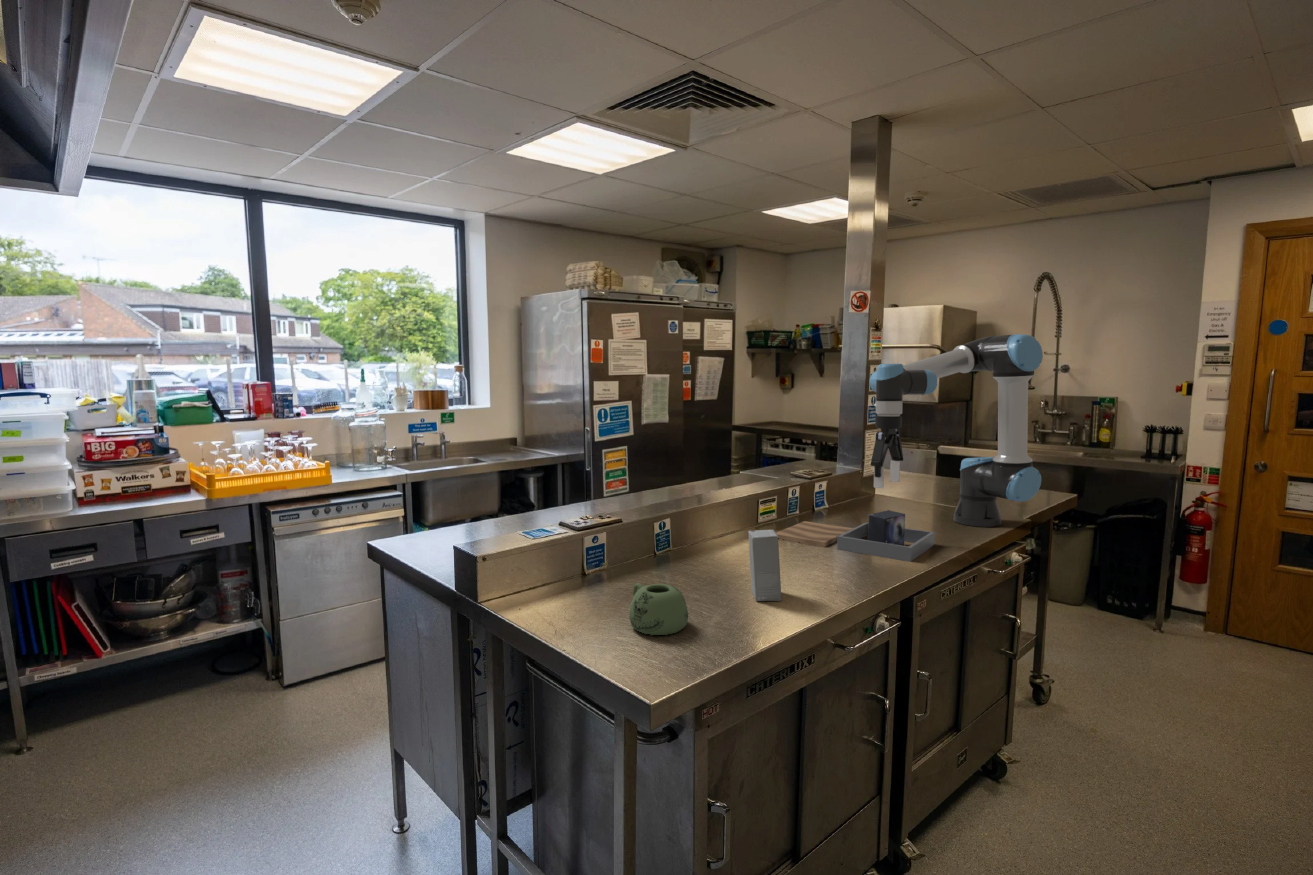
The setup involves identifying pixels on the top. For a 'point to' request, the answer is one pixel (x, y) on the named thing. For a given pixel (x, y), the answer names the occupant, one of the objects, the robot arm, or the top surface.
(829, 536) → the walnut board
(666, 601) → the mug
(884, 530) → the small box
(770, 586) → the skincare box
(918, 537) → the bin
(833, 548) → the top surface
